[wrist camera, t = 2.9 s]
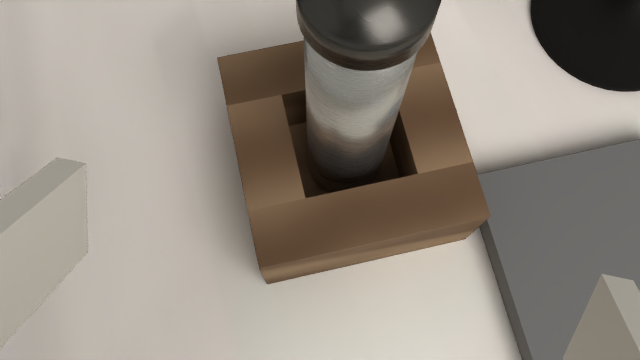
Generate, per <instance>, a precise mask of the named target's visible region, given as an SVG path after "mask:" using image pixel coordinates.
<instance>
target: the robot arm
mask: <svg viewBox="0 0 640 360" xmlns="http://www.w3.org/2000/svg"><path fill="white" fill-rule="evenodd" d="M87 253H88V233H87V190H86V164H85V163H81V162H76V161H71V160H67V159H62V158H56V159H55V160H53V161H52V162H51V163H49V164H48V165H47V166H45V167H44V168H43V169H41V170H40V171H39V172H37V173H36V174H34V175H33V176H32V177H30V178H29V179H28V180H26V181H25V182H24V183H22V184H21V185H20V186H18V187H17V188H16V189H14V190H13V191H12V192H10V193H9V194H8V195H6V196H5V197H4V198H2V199H1V200H0V349H1V348H2V347H3V345H4V344H5V343H6V342H7V341H8V340H9V339H10V338H11V337H12V336H13V334H14V333H15V332H16V331H17V330H18V329H19V328H20V327H21V326H22V324H23V323H24V322H25V321H26V320H27V319H28V318H29V317H30V316H31V315H32V313H33V312H34V311H35V310H36V309H37V308H38V307H39V306H40V305H41V304H42V302H43V301H44V300H45V299H46V298H47V297H48V296H49V295H50V294H51V293H52V291H53V290H54V289H55V288H56V287H57V286H58V285H59V284H60V283H61V281H62V280H63V279H64V278H65V277H66V276H67V275H68V274H69V273H70V272H71V270H72V269H73V268H74V267H75V266H76V265H77V264H78V263H79V262H80V261H81V259H82V258H83V257H84V256H85V255H86V254H87ZM563 360H640V291H639V289H638V288H637V286H636V284H635V282H634V281H633V280H629V279H624V278H620V277H615V276H610V275H605V274H601V276H600V278H599V281H598V283H597V285H596V287H595V289H594V291H593V294H592V296H591V298H590V300H589V302H588V304H587V306H586V309H585V311H584V313H583V315H582V317H581V319H580V322H579V324H578V326H577V328H576V330H575V332H574V335H573V337H572V339H571V341H570V343H569V345H568V348H567V350H566V352H565V354H564V356H563Z"/></svg>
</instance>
